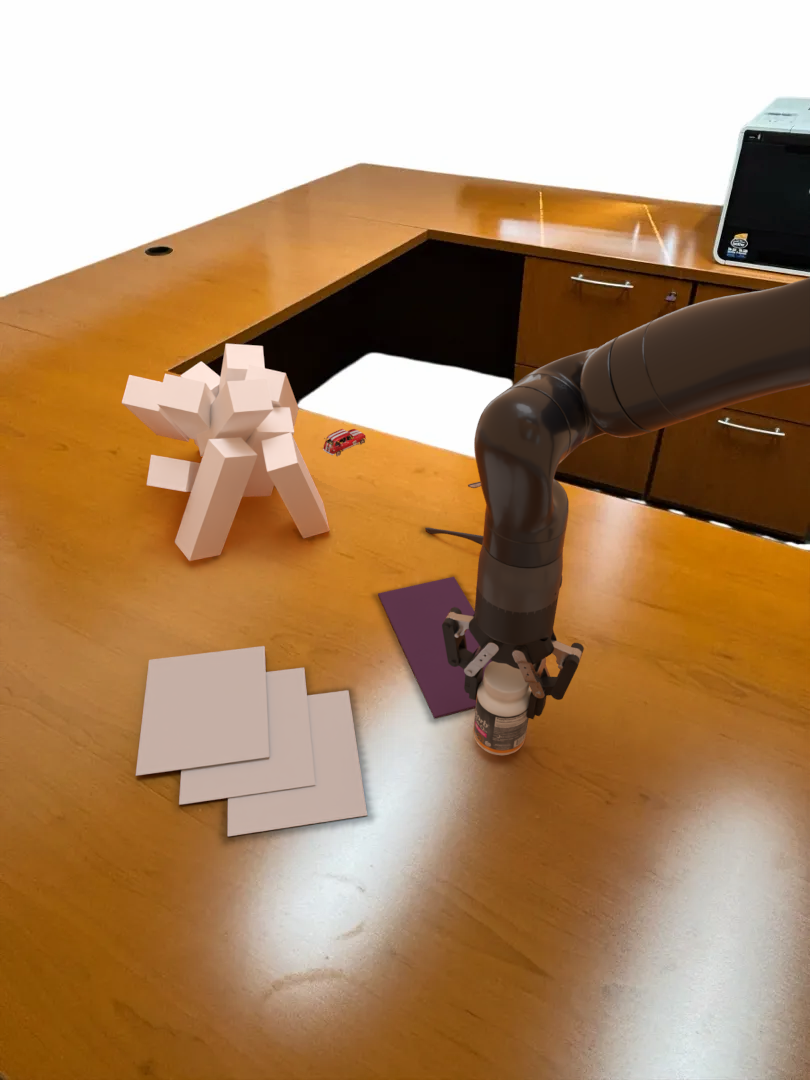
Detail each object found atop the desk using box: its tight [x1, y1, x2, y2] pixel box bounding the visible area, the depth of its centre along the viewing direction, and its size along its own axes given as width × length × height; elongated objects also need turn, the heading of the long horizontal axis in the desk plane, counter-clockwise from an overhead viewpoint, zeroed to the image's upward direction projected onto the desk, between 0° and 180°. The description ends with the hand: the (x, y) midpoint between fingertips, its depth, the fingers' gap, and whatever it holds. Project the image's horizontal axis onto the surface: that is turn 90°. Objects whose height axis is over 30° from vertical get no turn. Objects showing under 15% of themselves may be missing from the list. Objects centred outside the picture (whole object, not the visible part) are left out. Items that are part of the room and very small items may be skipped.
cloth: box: [377, 576, 492, 719], centre depth 98 cm, size 22×11×1 cm, turn 19°
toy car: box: [322, 428, 367, 457], centre depth 134 cm, size 4×8×3 cm, turn 133°
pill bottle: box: [473, 661, 532, 756], centre depth 81 cm, size 6×6×10 cm
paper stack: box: [135, 645, 368, 837], centre depth 86 cm, size 23×25×1 cm
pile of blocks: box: [121, 343, 331, 562], centre depth 112 cm, size 35×30×35 cm
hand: (503, 702), depth 81 cm, fingers closed on pill bottle, 5 cm apart
